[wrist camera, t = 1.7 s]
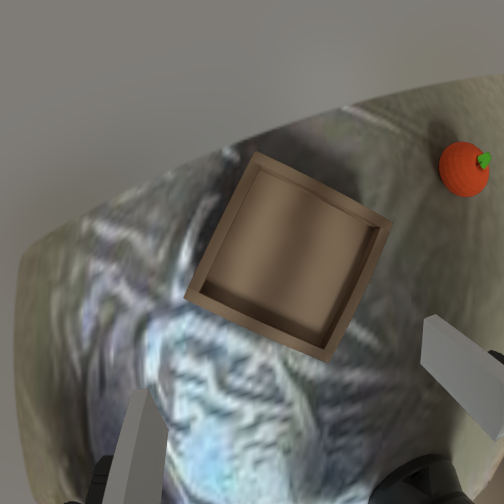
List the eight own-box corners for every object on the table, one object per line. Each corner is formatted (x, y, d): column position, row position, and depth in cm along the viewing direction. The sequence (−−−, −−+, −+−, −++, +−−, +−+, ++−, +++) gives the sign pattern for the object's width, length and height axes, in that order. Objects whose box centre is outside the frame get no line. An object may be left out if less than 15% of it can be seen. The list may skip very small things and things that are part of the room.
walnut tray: (363, 228, 35) (393, 222, 27) (311, 342, 34) (328, 363, 27) (252, 172, 34) (255, 150, 27) (195, 288, 34) (183, 298, 26)
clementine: (454, 139, 35) (485, 123, 28) (478, 183, 35) (510, 173, 28) (420, 162, 35) (451, 146, 28) (445, 210, 35) (480, 202, 28)
